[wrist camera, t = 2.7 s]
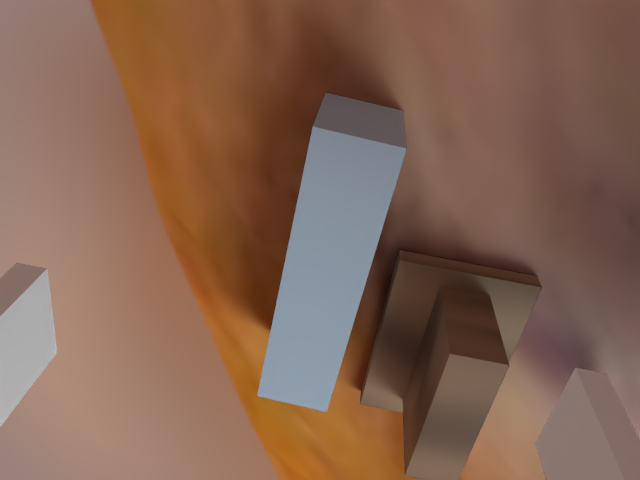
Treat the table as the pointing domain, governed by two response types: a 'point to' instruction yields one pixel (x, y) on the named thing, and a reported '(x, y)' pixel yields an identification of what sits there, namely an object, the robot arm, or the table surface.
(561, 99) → the table surface
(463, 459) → the ridge stand
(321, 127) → the bar
